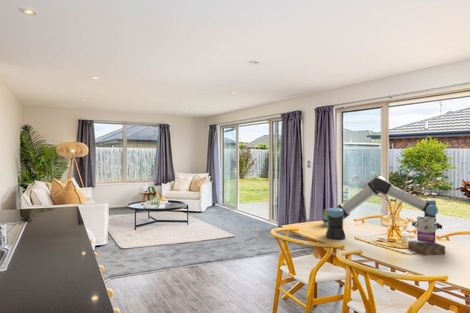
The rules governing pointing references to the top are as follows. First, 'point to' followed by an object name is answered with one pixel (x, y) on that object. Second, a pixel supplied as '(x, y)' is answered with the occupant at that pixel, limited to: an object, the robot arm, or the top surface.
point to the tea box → (325, 217)
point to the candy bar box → (426, 229)
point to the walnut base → (426, 247)
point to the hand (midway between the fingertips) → (425, 227)
